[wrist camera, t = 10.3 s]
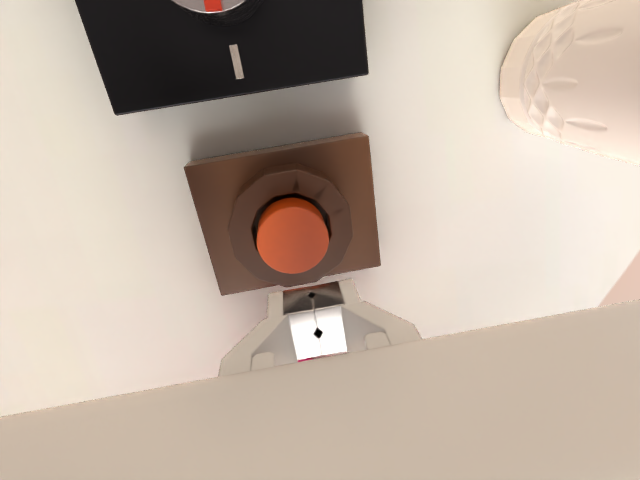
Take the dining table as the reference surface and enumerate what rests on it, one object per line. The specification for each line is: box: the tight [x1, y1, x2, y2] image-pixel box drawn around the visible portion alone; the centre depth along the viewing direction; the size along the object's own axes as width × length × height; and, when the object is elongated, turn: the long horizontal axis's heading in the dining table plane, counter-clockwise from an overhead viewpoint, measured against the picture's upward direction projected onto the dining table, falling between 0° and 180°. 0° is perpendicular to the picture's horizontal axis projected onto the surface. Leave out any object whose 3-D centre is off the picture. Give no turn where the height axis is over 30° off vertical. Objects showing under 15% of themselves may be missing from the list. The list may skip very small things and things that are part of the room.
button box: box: [184, 132, 381, 296], centre depth 21 cm, size 10×8×4 cm
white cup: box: [499, 0, 640, 166], centre depth 17 cm, size 8×8×10 cm
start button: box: [257, 198, 329, 274], centre depth 19 cm, size 4×4×2 cm
